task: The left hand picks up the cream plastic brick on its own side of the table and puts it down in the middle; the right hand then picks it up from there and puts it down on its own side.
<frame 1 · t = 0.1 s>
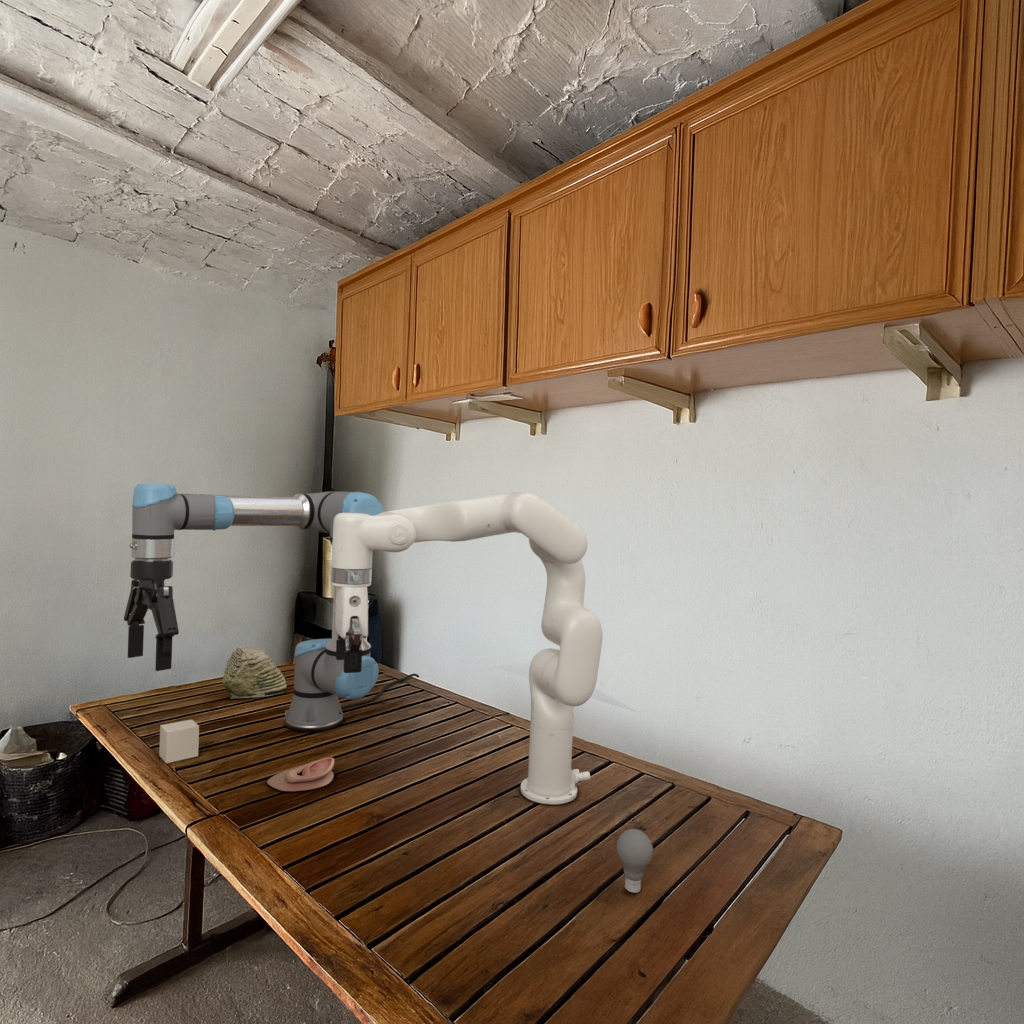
left hand: (148, 663, 129), 28 cm above the table, tool pointing down, fingers open, 13 cm apart
right hand: (348, 665, 122), 31 cm above the table, tool pointing down, fingers open, 9 cm apart
fossil: (254, 694, 198), on the table
brick: (178, 755, 151), on the table
anatomical model: (300, 781, 140), on the table
light bulb: (632, 891, 106), on the table
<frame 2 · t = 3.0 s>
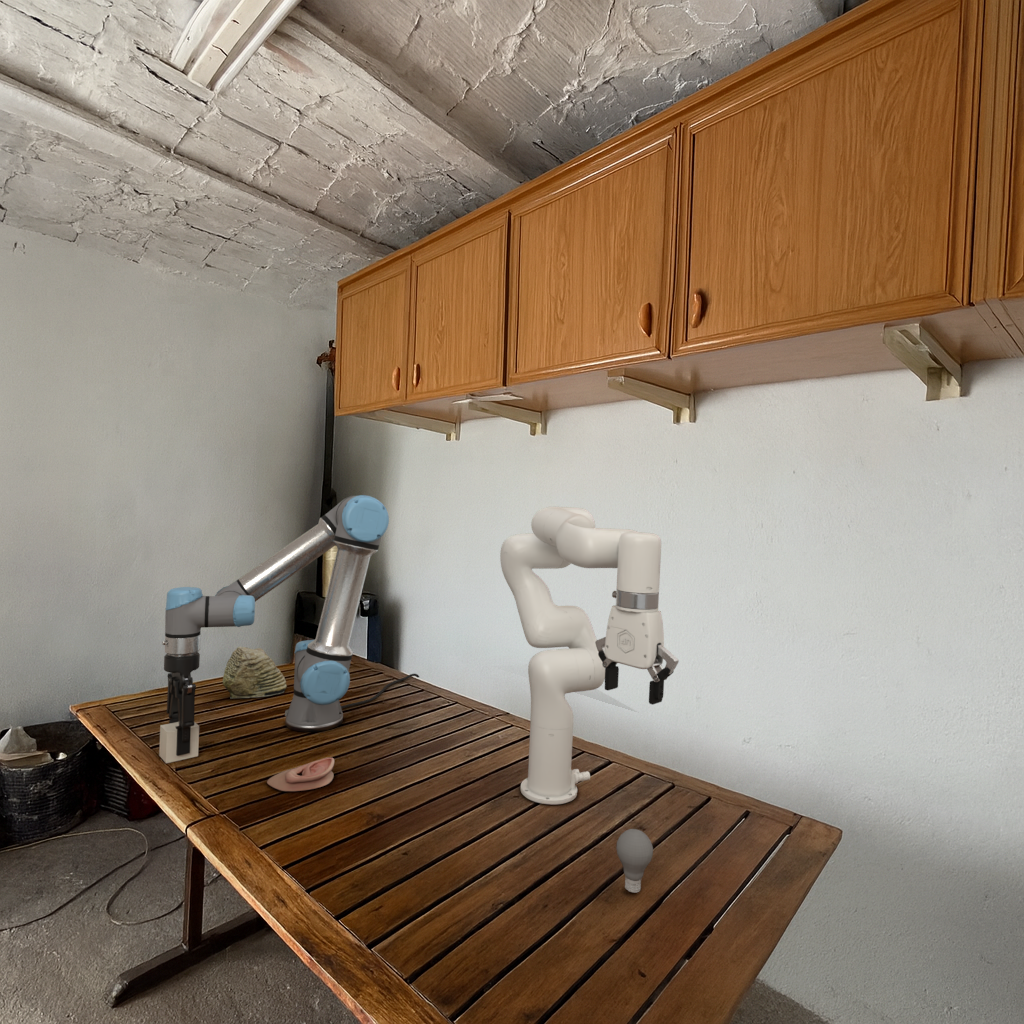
left hand: (178, 749, 151), 2 cm above the table, tool pointing down, fingers closed on brick, 6 cm apart
right hand: (632, 695, 114), 30 cm above the table, tool pointing down, fingers open, 9 cm apart
brick: (178, 755, 151), on the table, touching left hand
everything else where it was.
when the left hand's fingers open (3 cm above the table, at t = 12.0 s): brick drops 2 cm, on the table.
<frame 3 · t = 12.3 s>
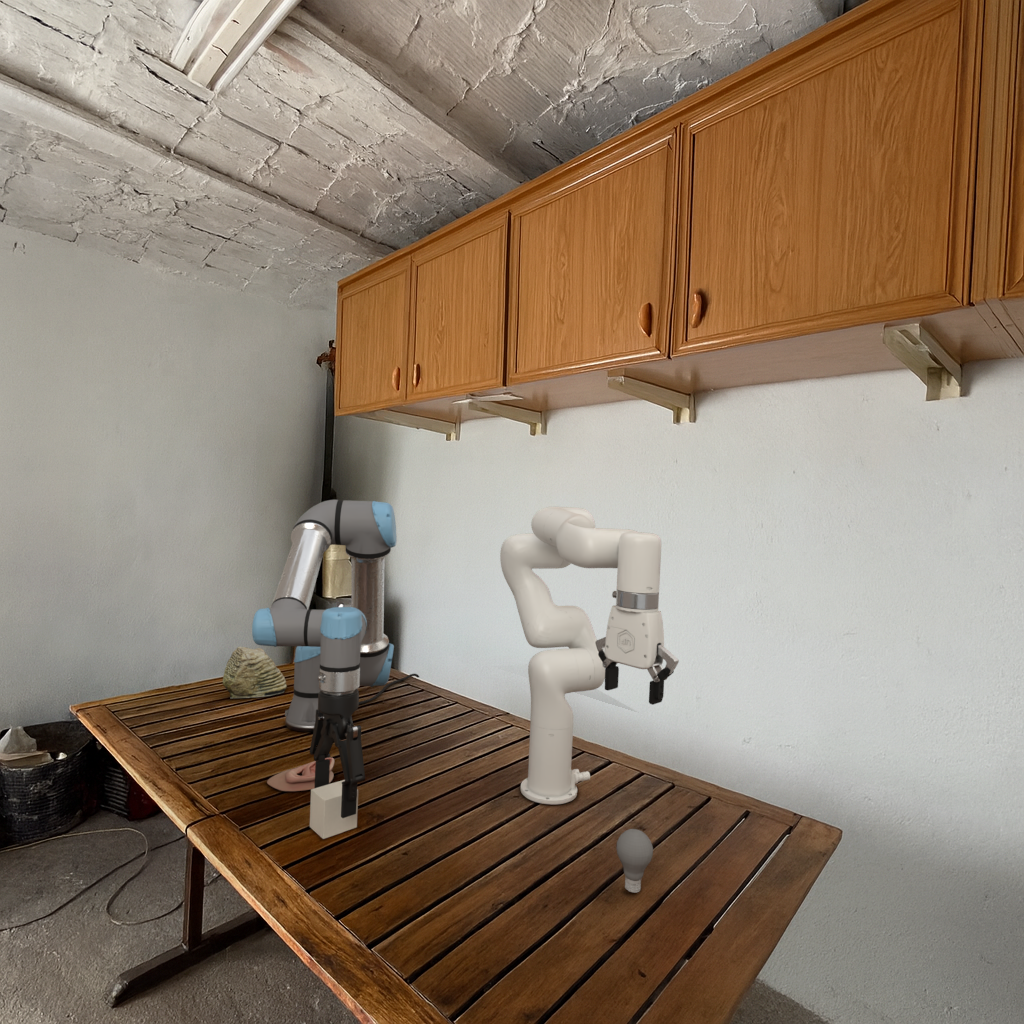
left hand: (334, 804, 122), 4 cm above the table, tool pointing down, fingers open, 10 cm apart
right hand: (632, 695, 114), 30 cm above the table, tool pointing down, fingers open, 9 cm apart
brick: (333, 827, 122), on the table
everything else where it was.
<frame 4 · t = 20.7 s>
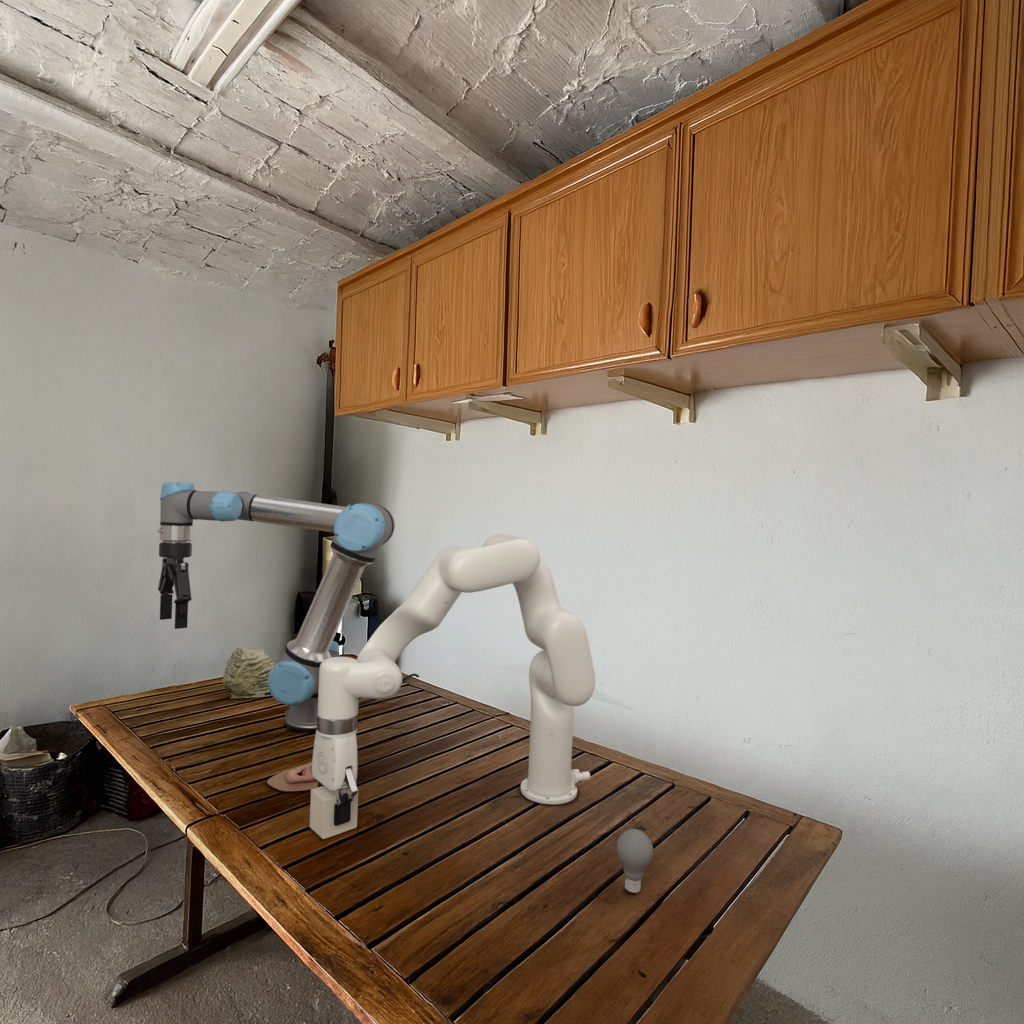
left hand: (173, 623, 164), 29 cm above the table, tool pointing down, fingers open, 13 cm apart
right hand: (333, 815, 122), 2 cm above the table, tool pointing down, fingers closed on brick, 5 cm apart
brick: (333, 827, 122), on the table, touching right hand
everything else where it was.
when the right hand's fingers open (4 cm above the table, at t = 28.8 s): brick drops 2 cm, on the table.
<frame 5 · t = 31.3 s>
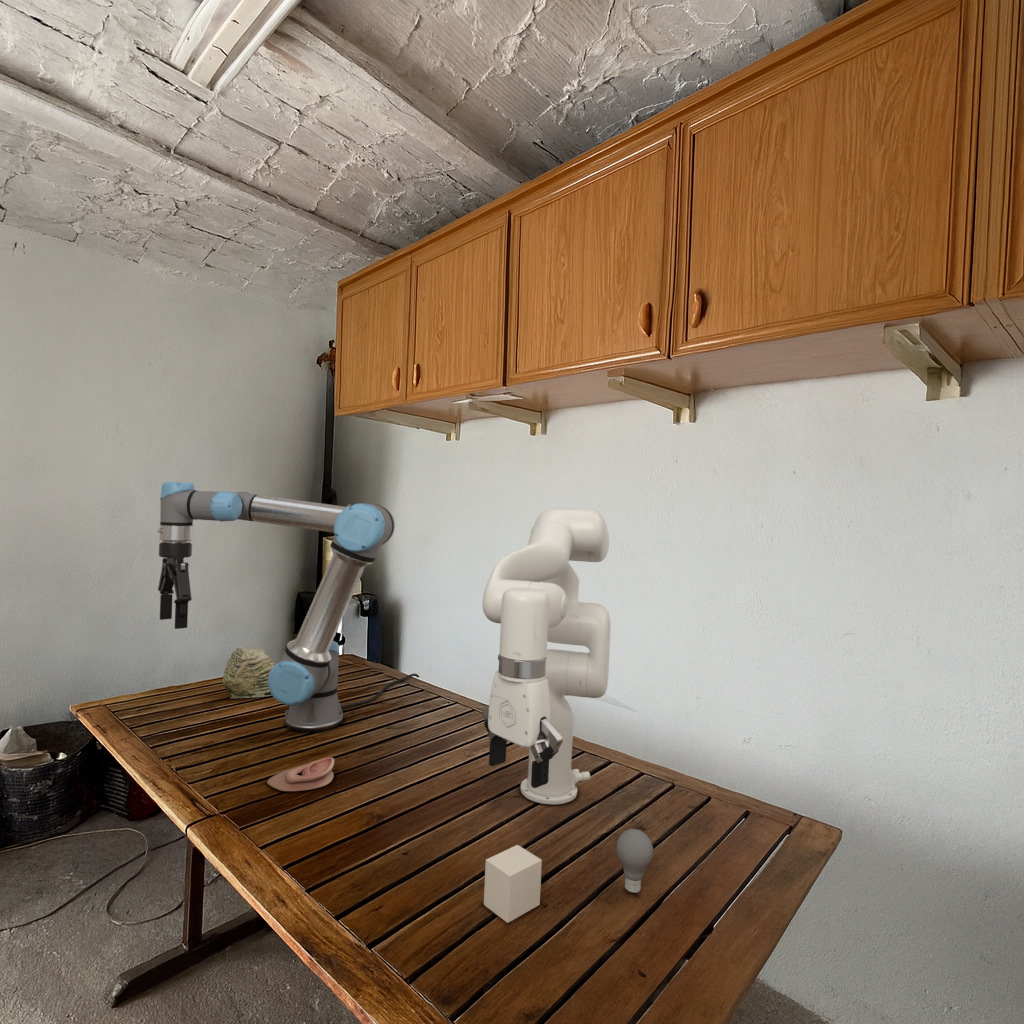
left hand: (173, 623, 164), 29 cm above the table, tool pointing down, fingers open, 13 cm apart
right hand: (517, 774, 100), 21 cm above the table, tool pointing down, fingers open, 9 cm apart
brick: (511, 904, 101), on the table
everything else where it was.
at the end: brick inside the target area (0.2 cm from its centre), on the table; brick tilted 0°; the two hands never held the brick at the same time; the left hand is holding nothing; the right hand is holding nothing; brick at rest at the end (0.0 cm/s) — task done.
